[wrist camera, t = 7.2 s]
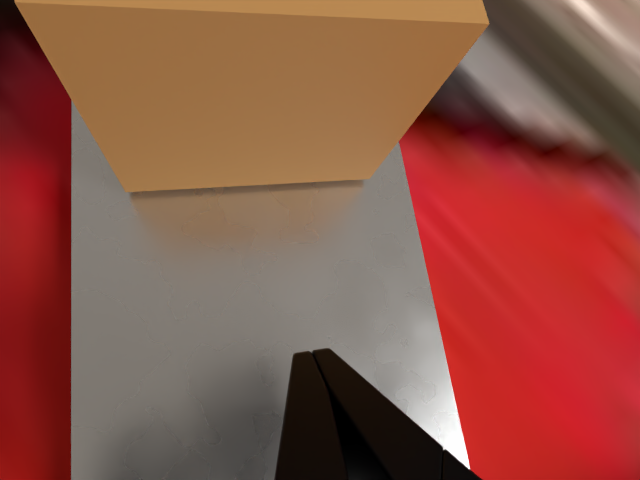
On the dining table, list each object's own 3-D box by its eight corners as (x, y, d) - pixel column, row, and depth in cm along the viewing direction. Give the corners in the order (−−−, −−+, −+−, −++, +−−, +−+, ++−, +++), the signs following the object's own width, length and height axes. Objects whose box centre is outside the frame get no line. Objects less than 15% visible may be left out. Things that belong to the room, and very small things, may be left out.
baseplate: (483, 590, 16) (648, 734, 10) (81, 723, 13) (-59, 1074, 6) (371, 61, 22) (429, -59, 16) (79, 55, 19) (5, -100, 12)
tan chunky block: (369, 178, 18) (489, 24, 10) (125, 192, 16) (14, 1, 8) (337, 12, 21) (412, -229, 12) (119, 2, 18) (28, -307, 10)
